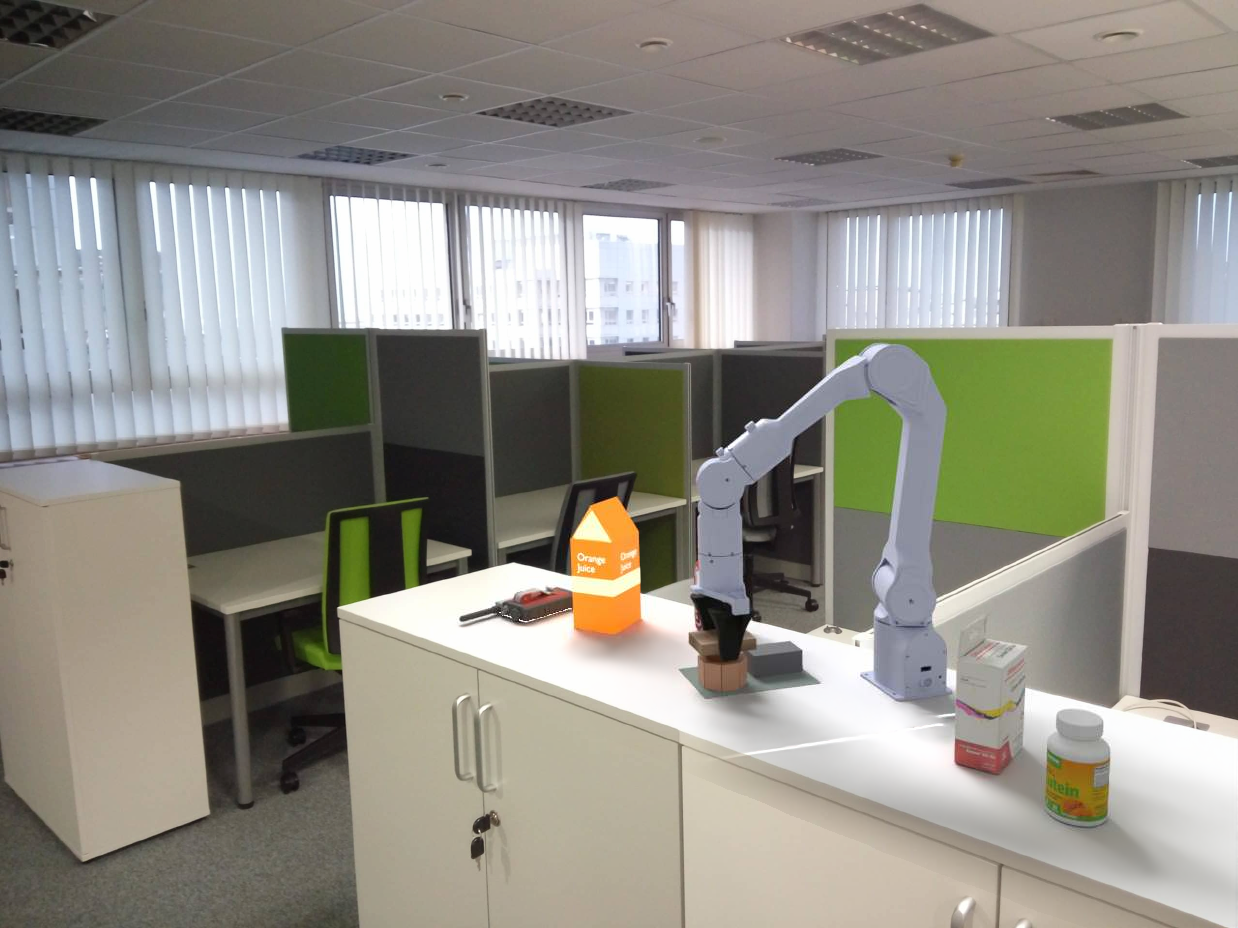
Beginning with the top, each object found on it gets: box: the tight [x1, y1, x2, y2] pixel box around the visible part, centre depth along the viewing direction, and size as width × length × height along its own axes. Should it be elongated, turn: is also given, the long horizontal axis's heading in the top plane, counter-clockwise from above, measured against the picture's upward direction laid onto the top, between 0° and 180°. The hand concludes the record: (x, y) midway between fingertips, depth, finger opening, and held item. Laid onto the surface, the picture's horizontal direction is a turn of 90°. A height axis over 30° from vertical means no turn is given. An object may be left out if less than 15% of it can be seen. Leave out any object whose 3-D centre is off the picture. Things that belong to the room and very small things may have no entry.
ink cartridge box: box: [953, 613, 1029, 775], centre depth 101 cm, size 9×5×15 cm, turn 141°
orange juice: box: [570, 496, 642, 635], centre depth 151 cm, size 8×9×20 cm
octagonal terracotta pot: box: [697, 651, 747, 691], centre depth 125 cm, size 6×6×4 cm
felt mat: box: [678, 666, 822, 700], centre depth 127 cm, size 11×16×1 cm
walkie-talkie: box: [458, 585, 573, 623], centre depth 158 cm, size 9×4×20 cm
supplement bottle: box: [1044, 708, 1111, 828], centre depth 89 cm, size 5×5×10 cm
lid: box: [688, 629, 758, 656], centre depth 124 cm, size 5×8×2 cm
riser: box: [742, 640, 804, 678], centre depth 129 cm, size 4×7×3 cm, turn 105°
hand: (722, 652), depth 124 cm, fingers closed on lid, 5 cm apart
